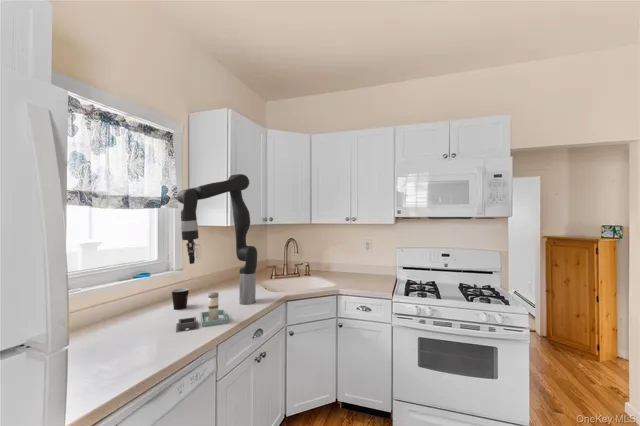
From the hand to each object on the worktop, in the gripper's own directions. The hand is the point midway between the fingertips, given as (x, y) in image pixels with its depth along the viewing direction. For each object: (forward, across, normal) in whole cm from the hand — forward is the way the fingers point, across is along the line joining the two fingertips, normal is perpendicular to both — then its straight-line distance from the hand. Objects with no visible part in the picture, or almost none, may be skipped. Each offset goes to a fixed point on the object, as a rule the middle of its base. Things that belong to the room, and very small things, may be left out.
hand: (192, 262), depth 146 cm
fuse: (+28, -10, -8) cm, 30 cm away
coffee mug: (+28, +21, +8) cm, 36 cm away
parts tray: (+28, -10, -8) cm, 31 cm away
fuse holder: (+27, -15, +4) cm, 31 cm away
